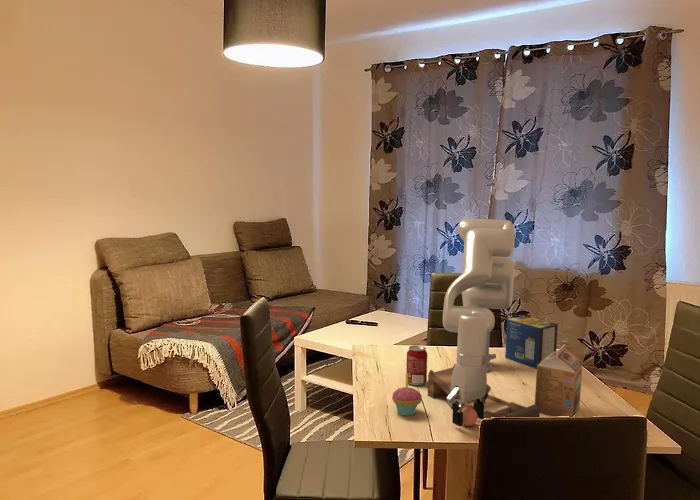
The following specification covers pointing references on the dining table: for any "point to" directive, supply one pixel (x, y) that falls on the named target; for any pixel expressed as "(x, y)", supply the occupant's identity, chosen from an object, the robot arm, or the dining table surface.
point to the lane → (493, 408)
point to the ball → (469, 416)
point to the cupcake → (406, 399)
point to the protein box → (530, 340)
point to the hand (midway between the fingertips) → (468, 420)
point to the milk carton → (559, 383)
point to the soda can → (417, 365)
